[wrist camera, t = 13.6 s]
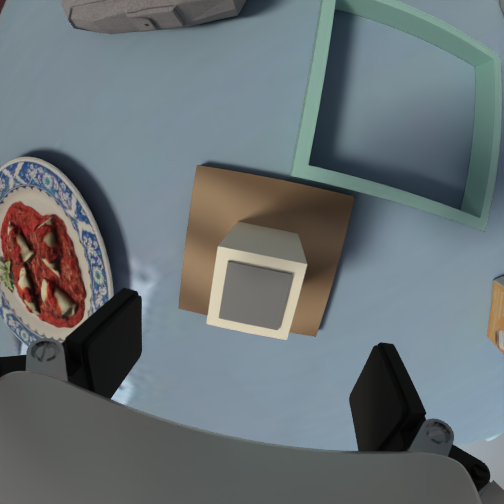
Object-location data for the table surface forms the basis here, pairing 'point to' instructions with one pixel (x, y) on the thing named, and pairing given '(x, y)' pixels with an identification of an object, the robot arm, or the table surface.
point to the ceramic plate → (48, 253)
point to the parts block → (257, 280)
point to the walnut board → (267, 215)
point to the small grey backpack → (146, 14)
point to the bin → (485, 119)
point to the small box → (497, 315)
